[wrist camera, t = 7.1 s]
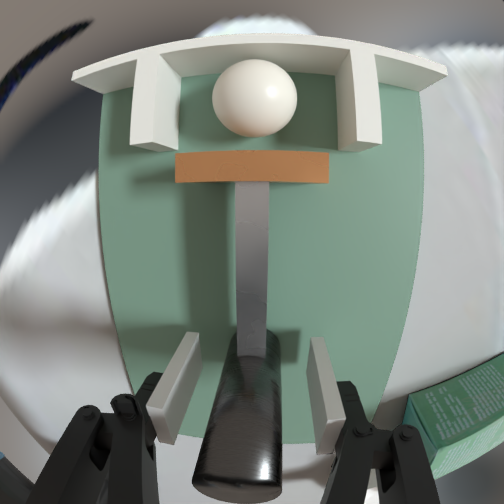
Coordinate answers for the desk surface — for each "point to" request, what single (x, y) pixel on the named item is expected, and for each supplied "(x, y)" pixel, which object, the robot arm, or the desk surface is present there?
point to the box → (460, 416)
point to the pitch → (280, 211)
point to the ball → (254, 98)
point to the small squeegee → (248, 328)
